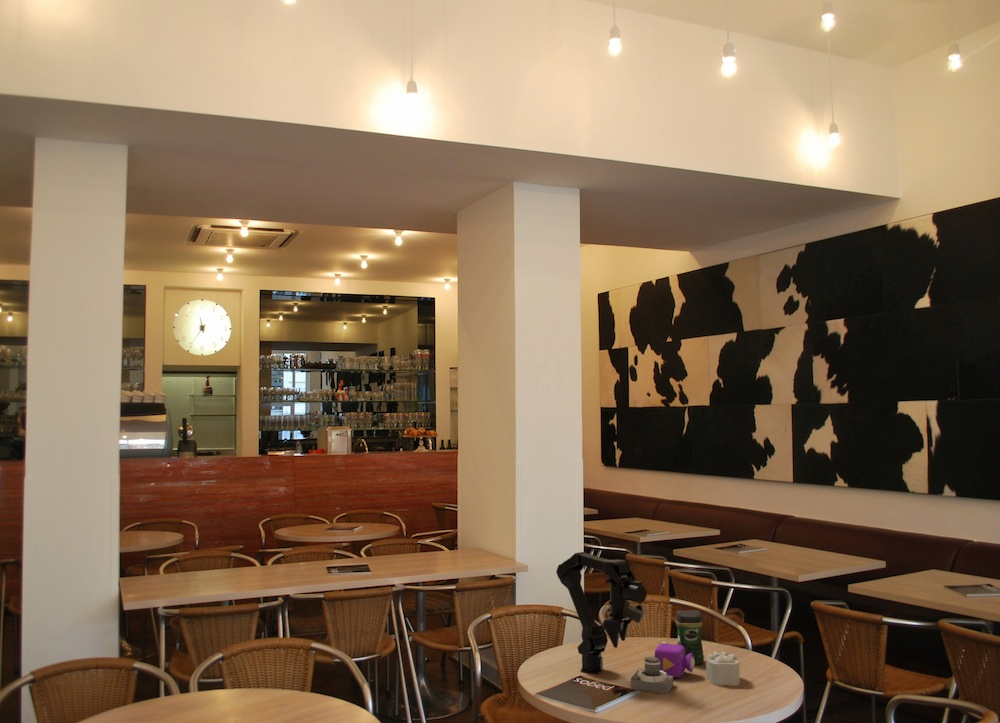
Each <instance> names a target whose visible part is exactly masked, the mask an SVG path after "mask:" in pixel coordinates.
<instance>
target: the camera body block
mask: <svg viewBox="0 0 1000 723" xmlns="http://www.w3.org/2000/svg"><path fill="white" fill-rule="evenodd" d="M673 687H674V678H673V676H669V675H667V673H666V672H664V671H662V670H660V676H655V677H653V676H645V668H644V669H643V668H638V669H637V670H636V671H635V673H634V674H633V675H632V676H631V677H630V689H631V690H636V689H639V690H638V691H645V692H654V693H661V694H665V695H667V694H669V692H670V691H671V689H672V688H673Z"/></svg>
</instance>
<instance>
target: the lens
mask: <svg viewBox="0 0 1000 723" xmlns="http://www.w3.org/2000/svg"><path fill="white" fill-rule="evenodd" d="M644 669H645V676H653V677H655V676H660V659H659V658H655V656H653V657H652V656H649V657H645V658H644Z"/></svg>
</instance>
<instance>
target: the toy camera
mask: <svg viewBox="0 0 1000 723" xmlns="http://www.w3.org/2000/svg"><path fill="white" fill-rule="evenodd" d="M654 657H655V658H659V659H660V670H662V671H664V672H666V673H667V675H669V676H673V679H674V678H675V679H678V678H681V677H682V676H683V675H684V673H685V670H687V671H688V672H690V673H693V669H694V667H695V666H696V665H695V661H694V658H693V654H692V653H690V654H688V655H687V656H685V648H684V646H682V645H677V644H674V643H672V644H671V643H668V642H667V641H662V642H661V643H659V645H657V647H656V648H655V650H654Z"/></svg>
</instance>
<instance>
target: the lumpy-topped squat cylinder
mask: <svg viewBox="0 0 1000 723" xmlns="http://www.w3.org/2000/svg"><path fill="white" fill-rule="evenodd" d="M705 664H706V665H705V668H706V672H705V673H706V681H709V682H710V683H709V682H708V683H709V684H710V685H713V686H717V685H719V686H718V687H721V686H722V687H723V685H729V687H731V686H733V687H735V686H739V685H740V684H741V683H740V682H741V681H740V680H741V679H740V661H739V659H738V658H737V655H736V654H735V653H731V654H728V652H726V651H723V650H722V651H721V652H719V651H716V650H715V651H714V652H713V653H709V654H708V655H706V657H705Z"/></svg>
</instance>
